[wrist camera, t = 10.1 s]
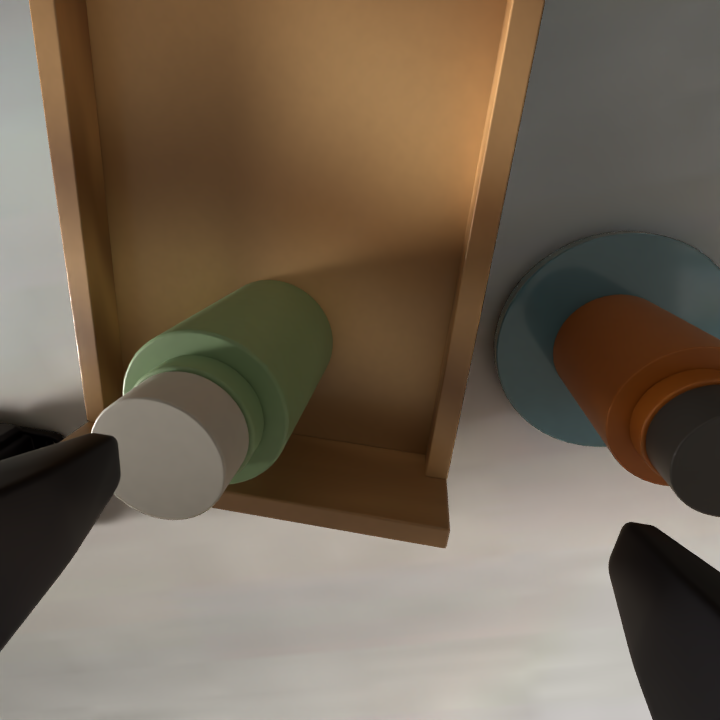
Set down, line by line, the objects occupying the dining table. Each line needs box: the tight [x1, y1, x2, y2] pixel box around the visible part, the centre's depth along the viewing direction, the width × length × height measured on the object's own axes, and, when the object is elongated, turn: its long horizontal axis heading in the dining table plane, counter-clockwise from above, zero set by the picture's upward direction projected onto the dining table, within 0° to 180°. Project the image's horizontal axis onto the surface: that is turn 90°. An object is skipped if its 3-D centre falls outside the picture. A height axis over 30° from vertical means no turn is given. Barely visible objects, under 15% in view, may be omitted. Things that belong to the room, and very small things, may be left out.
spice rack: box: [29, 0, 545, 548], centre depth 15 cm, size 19×14×8 cm
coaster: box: [494, 231, 720, 447], centre depth 19 cm, size 9×9×1 cm
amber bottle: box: [553, 294, 720, 517], centre depth 15 cm, size 4×4×8 cm
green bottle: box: [91, 280, 333, 520], centre depth 13 cm, size 4×4×8 cm
